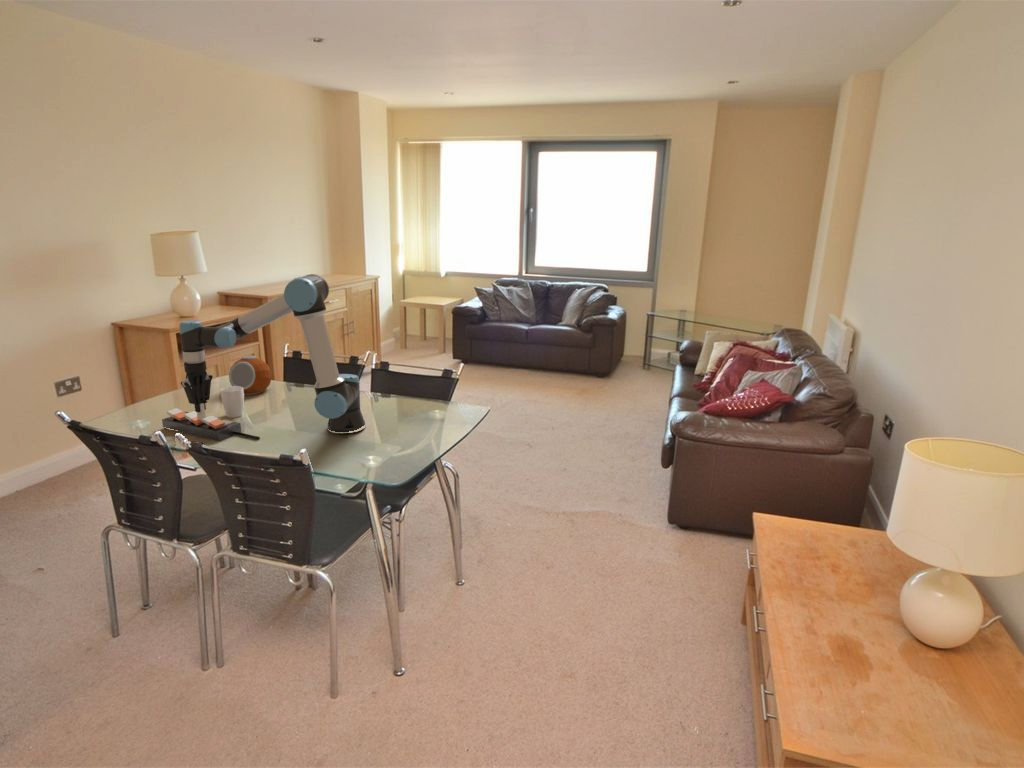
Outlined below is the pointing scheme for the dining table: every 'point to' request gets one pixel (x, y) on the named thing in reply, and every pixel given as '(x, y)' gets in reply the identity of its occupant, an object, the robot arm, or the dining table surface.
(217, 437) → the power strip
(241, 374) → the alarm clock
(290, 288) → the robot arm
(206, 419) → the rocker
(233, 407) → the cup
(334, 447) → the dining table surface
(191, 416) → the rocker
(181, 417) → the rocker
